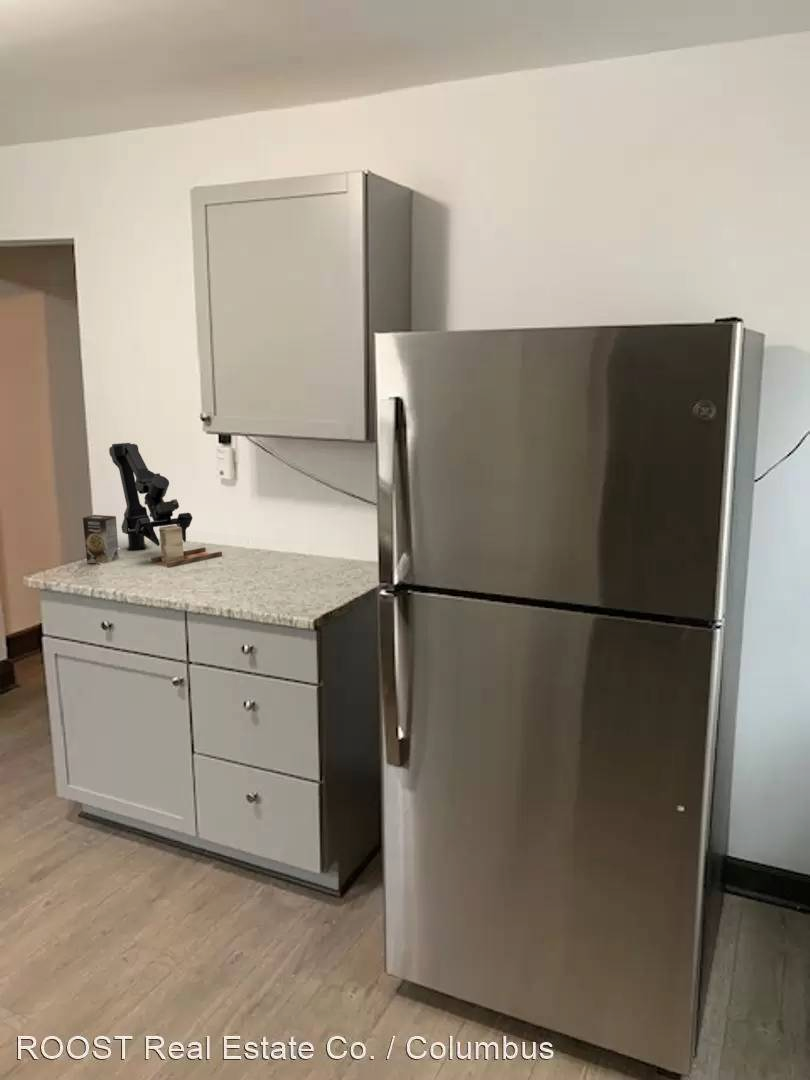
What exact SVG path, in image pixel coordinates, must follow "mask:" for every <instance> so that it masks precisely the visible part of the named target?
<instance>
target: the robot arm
mask: <svg viewBox="0 0 810 1080" xmlns="http://www.w3.org/2000/svg"><path fill="white" fill-rule="evenodd" d="M108 453H109V456H110V457H111V459H112V462H113V464H114V465H115V466H116V468H118V470H119V475H120V480H121V484H122V490H123V495H124V499H125V503H126V509H125V510H124V514H123V517H124V518H123V520H122V524H121V526H120V527H121V531H122V533H123V534H125V535H127V540H128V547H126V551H134V550H145V549H147V546H148V544H146V539H145V538H147V539H148V540H149V541H151V542H152V543H153V544H155V546H157V547H159V546H161V542H160V540H159V538H158V537H157V534H156V531H155V529H154V528H156V527H157V528H158V527H165V526H173V525H176V526H179V527H181V528H182V541H183V542H184V543H186V542H187V528H189V527H190V525H191V523H192V521H193V516H192V514H191V512H183V513H178V515H177V518H172V517H173V515H174V513H173V512H175V511H176V510H178V509H179V508H180V505H179V504H180V503H179V502H178V500H177V498H174V499H171V500H170V501H169V500H168V501H164V498H165V496H166V494H167V490H168V488H169V486H170V481H169V479H167V477H165V476H163V475H161V474H160V473H159V472H158V473H154V472H153V471H151V470H149V468H148V467H147V465H146V463H145V461H144V459H143V456H142V454H141V453H140V451H139V446H138V445H137V444H135V443H131V442H122V443H113V444H112V445H111V446H110V447H109V448H108ZM139 494H141V495H143V494H145V496H144V498H143V499H144V505H145V506H143V505H142V503H140V502H141V501H140V498H139ZM146 505H147V508H148V510H149V514H148V512H147V508H146ZM151 518H152V520H151Z"/></svg>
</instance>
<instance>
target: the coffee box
mask: <svg viewBox="0 0 810 1080" xmlns="http://www.w3.org/2000/svg"><path fill="white" fill-rule="evenodd" d="M82 524H83V533H84V545H85V557H86V563H87V564H88V563H96V564H95V565H100V563H111V562H114V561H117V560H119V559H120V553H119V542H118V541H119V540H118V539H119V538H118V528H117V527H118V525H117V516H116V515H102V514H93V515H88V516H87V515H86V516H83V518H82Z"/></svg>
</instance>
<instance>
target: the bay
mask: <svg viewBox="0 0 810 1080" xmlns="http://www.w3.org/2000/svg"><path fill="white" fill-rule="evenodd" d="M206 550H207V549H206V547H205V546H204V547H200V548H199V547H198V548H195V549H189V550H183V555H184V559H182V560H178V561H173V562H168V563H167V564H165V563H163V562H162V558H161V555H160V556H155V557H150V562H151V563H152V564H154V565H159V566H162V567H165V568H169V569H170V568H174V567H180V566H184V565H189V564H192V563H198V562H201V561H206V560H207V561H208V560H210V559H212V560H213V559H216V558H220V557H223V551H217V552H208V551H206Z"/></svg>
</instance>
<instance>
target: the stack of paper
mask: <svg viewBox="0 0 810 1080" xmlns="http://www.w3.org/2000/svg"><path fill="white" fill-rule="evenodd" d="M158 527H159V528H158V531H159V539H160V540H159V543H160V554H161V555H160V556H161V558H162V562H163V563H165V564H167V563H168V562H173V561H178V560H182V559H184V555H183V551H184V544H183V542H184V541H183V540H182V528H181V527H179V526H177V525H176V524H175V525H168V526H161V527H160V526H158Z"/></svg>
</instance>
